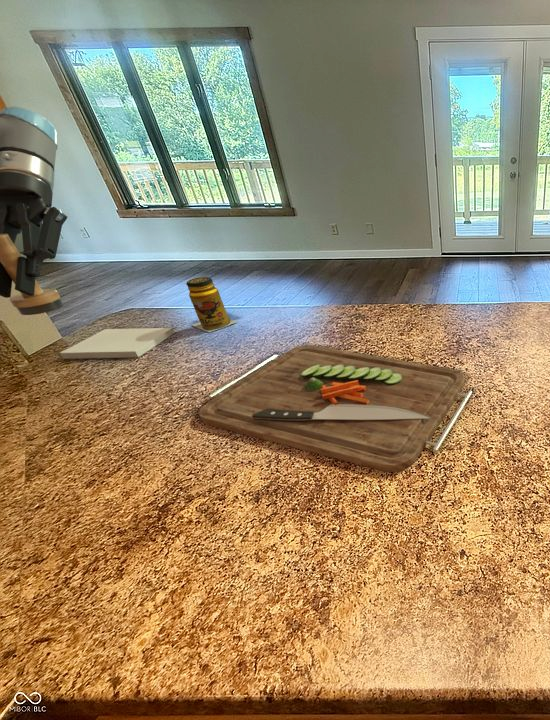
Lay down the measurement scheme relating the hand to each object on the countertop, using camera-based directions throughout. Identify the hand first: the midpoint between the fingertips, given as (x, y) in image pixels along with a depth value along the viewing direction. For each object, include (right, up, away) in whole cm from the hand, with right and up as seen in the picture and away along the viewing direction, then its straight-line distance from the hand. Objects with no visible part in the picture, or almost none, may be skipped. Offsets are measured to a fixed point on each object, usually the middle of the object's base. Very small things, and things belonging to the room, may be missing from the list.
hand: (12, 293), depth 68 cm
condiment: (+16, -3, +29) cm, 34 cm away
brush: (-1, -2, +6) cm, 6 cm away
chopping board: (+59, -19, +1) cm, 62 cm away
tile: (+1, -9, +19) cm, 21 cm away
